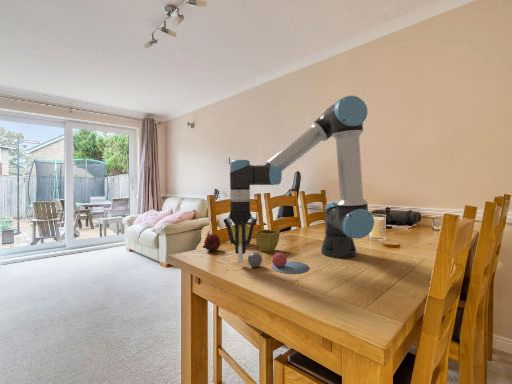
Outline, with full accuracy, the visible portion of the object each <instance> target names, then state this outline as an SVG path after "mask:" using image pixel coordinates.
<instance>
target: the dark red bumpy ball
mask: <svg viewBox="0 0 512 384" xmlns="http://www.w3.org/2000/svg"><path fill="white" fill-rule="evenodd" d="M203 246H204V249H206V250H207V251H209V252H215V251H217V250H219V249H220V247H221V240H220V237H219V235H217V234H216V233H212V234H208V235H207V236H206V237H205V240H204V245H203Z"/></svg>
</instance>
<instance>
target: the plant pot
mask: <svg viewBox="0 0 512 384" xmlns="http://www.w3.org/2000/svg"><path fill="white" fill-rule="evenodd" d="M230 225H231V224H230ZM250 226H251V224H250V225H249V224H246V240H247V239H248V235H249V230H250ZM231 229H232V233H233V237H234V240H235V224H232V225H231ZM239 244H242V225H239ZM247 245H248V244H246V246H247Z"/></svg>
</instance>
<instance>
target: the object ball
mask: <svg viewBox="0 0 512 384" xmlns="http://www.w3.org/2000/svg"><path fill="white" fill-rule="evenodd" d="M271 258H272V259H271V260H272V261H271V263H272V265H273V264H274V265H275V266H276V267H283V266H285V264H286V262H287V261H288V260H287V259H288V258H287V256H286V254H284V253H283V252H276V253H274V254H273V256H272V257H271Z"/></svg>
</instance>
